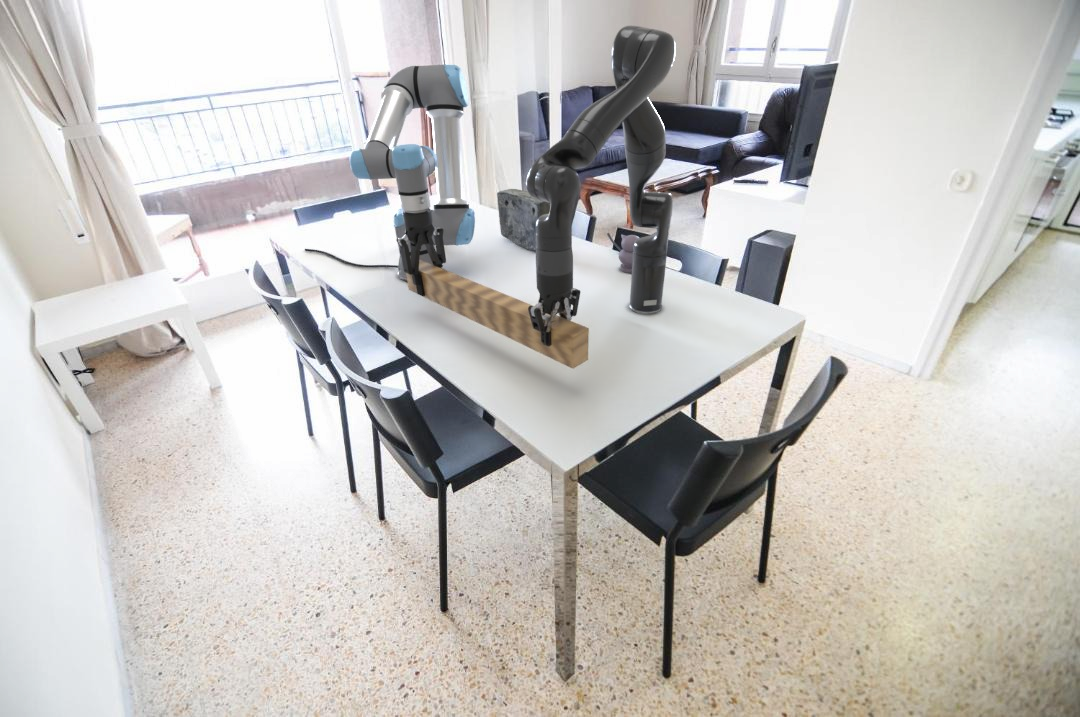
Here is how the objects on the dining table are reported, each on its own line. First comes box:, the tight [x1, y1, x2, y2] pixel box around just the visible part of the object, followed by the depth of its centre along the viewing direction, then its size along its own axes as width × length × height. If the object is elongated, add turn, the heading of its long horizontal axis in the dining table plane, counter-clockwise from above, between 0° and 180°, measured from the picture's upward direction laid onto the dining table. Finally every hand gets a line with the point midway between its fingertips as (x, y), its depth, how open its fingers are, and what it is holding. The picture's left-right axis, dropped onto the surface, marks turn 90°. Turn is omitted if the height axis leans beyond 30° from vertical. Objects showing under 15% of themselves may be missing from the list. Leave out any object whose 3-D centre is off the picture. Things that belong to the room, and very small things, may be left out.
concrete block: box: [496, 188, 551, 251], centre depth 192 cm, size 27×9×20 cm, turn 36°
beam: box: [406, 260, 590, 370], centre depth 124 cm, size 64×5×8 cm, turn 45°
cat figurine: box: [618, 233, 640, 274], centre depth 170 cm, size 8×8×12 cm
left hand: (429, 291), depth 141 cm, fingers closed on beam, 5 cm apart
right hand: (555, 339), depth 110 cm, fingers closed on beam, 5 cm apart
